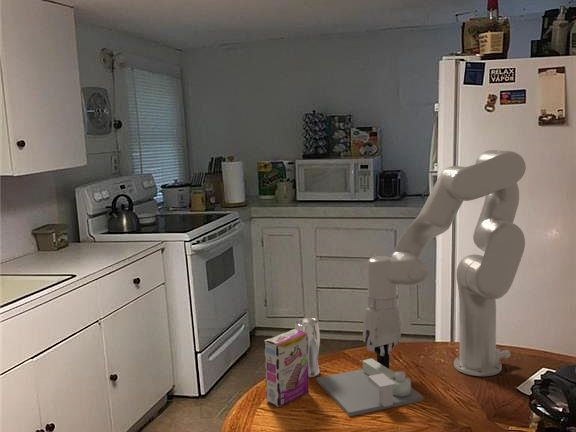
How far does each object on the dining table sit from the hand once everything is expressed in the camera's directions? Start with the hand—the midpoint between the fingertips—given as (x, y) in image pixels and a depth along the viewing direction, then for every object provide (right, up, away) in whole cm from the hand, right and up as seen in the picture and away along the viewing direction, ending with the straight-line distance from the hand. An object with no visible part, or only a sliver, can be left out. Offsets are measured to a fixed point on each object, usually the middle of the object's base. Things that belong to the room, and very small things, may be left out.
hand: (383, 367), depth 153 cm
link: (0, -2, -7) cm, 7 cm away
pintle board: (-5, -4, -9) cm, 11 cm away
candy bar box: (-26, -5, -10) cm, 28 cm away
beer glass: (-20, -3, +4) cm, 21 cm away
